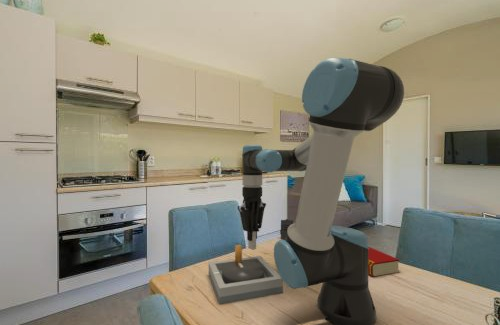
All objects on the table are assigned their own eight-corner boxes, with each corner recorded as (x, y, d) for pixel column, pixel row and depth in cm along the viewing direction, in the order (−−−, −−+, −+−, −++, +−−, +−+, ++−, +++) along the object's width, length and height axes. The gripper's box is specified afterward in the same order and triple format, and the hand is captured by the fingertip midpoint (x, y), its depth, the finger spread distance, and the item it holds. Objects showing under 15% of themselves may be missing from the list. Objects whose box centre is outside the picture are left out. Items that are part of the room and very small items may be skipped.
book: (338, 259, 107) (338, 247, 107) (363, 255, 111) (363, 244, 111) (371, 277, 89) (371, 263, 89) (399, 273, 93) (399, 259, 93)
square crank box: (282, 292, 79) (282, 277, 79) (219, 304, 72) (219, 287, 72) (260, 267, 98) (260, 255, 98) (208, 274, 91) (208, 261, 91)
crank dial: (270, 282, 81) (270, 255, 81) (227, 289, 76) (227, 261, 76) (255, 265, 94) (255, 242, 94) (218, 270, 90) (218, 246, 90)
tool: (292, 240, 122) (293, 216, 115) (295, 274, 105) (296, 247, 98) (279, 240, 123) (280, 215, 116) (280, 273, 106) (281, 247, 99)
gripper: (257, 184, 102) (257, 242, 103) (232, 186, 93) (232, 250, 94) (271, 185, 97) (271, 246, 97) (246, 188, 88) (246, 255, 88)
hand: (252, 248), depth 95 cm, fingers closed
